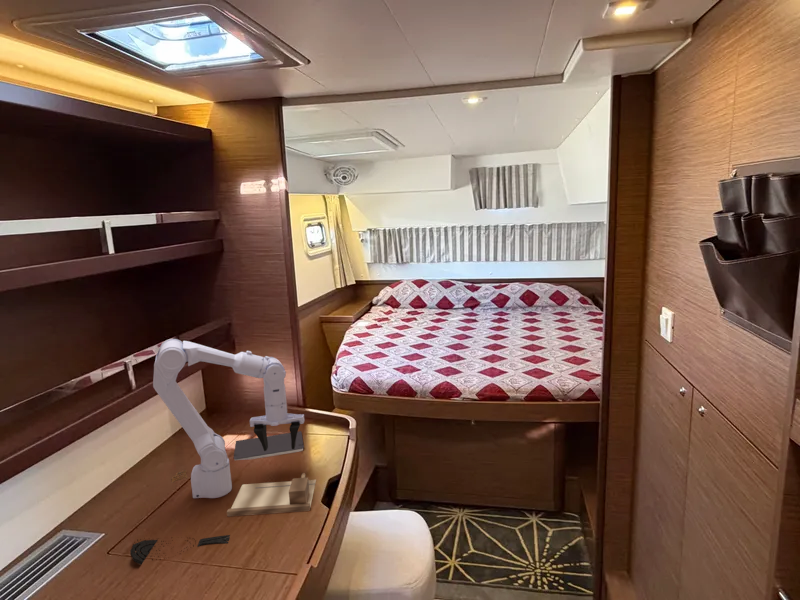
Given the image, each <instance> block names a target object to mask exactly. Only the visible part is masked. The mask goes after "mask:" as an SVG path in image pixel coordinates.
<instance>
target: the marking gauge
mask: <svg viewBox="0 0 800 600" xmlns="http://www.w3.org/2000/svg"><path fill="white" fill-rule="evenodd" d="M306 475H307V474H306V473H305V472H303V473H302V474H301V476H300V477H298V478H297V477H296V478H295V477H294V478H292V479H291V481H292V482H291V486H290V489H289V500H290V504H305V503H307V502H308V498H309V481H308V480H309V477H306Z"/></svg>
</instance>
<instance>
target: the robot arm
mask: <svg viewBox="0 0 800 600" xmlns="http://www.w3.org/2000/svg"><path fill="white" fill-rule="evenodd" d="M154 360H155V361H154V363H153V377H152V378H153V381H152V387H153V389H154V390H155V391H154V392H156V393H157V394H158V396H159V398H160V399H161V400H162V401H163V403H164V404H165V406H166V407H167V408H168V410H169V412H170V413H171V414H172V415H173V416H174V417H175V419H176V421H177V422H178V423H179V424H180V426H181V427H182V429H184V431H185V433H186V434H187V435H188V437H189V438H190V439H191V441H192V443H193V445H194V448H195V450H196V452H197V454H198V455H199V457H200V464H195V465H194V466H193V468H192V469H191V470H192V471H191V473H190V483H191V484H190V485H191V491H192V498H193V499H199V498H200V499H201V498H206V499H216V498H221V497H224V496H226V495H228V493H230V492H231V491H232V489H233V483H232V474H231V465H230V459H229V457H228V454H227V450H226V441H225V439H224V438H223V436H221V435H220V434H217V433H216V432H215V431H214V430H213V428H211V427H210V426H208V424H207V423H206V421H205V420H204V419H203V418H202V416H201V414H200V413H199V412H198V409H196V408H195V406H194V405H193V404H192V402H191V401H190V399H189V397H188V396H187V395H186V394H185V392H184V391H183V389H182V388H181V387H180V385H179V384H178V382H177V378H178V374H179V373H180V371H181V370H182V369H183V368H184V367H185V365H186V363H187V366H188V367H190V366H192V365H195V364H197V363H199V362H203V363H204V362H205V363H209V364H214V365H219V366H220V365H221V366H226V367H230V368H232V370H233V372H234V373H235V374H239V375H245V376H246V377H247V376H248V377H251V378H256V379H263V396H264V399H263V400H264V408H265V415H260V416H253V417H251V418H250V419H249V425H250V426H249V427H250V428H253V433H254V434H255V435H256V438H259V440H260V442H261V444H262V446H263V449H264V451H267V448H268V441H267V436H268V435H267V433H268V432H267V426H271V427H273V426H276V427H277V426H279V425H286V424H290V425H289V433H290V434H291V447H292V449H295V446H296V436H297V432H298V431H299V430H300V426H301V425H302V424H303V425H304V423H305V414H301V413H300V414H298V413H289V412H288V404H287V403H288V402H287V394H286V393H287V392H286V384H285V378H286V374H287V371H286V369H285V367H284V365H283V364H282V362H281V361H280V360H279V359H278V358H276V357H274V356H268V355H265V356H261V355H258V354H257V355H256V354H254V353H253V352H252V351H251V350H246V351H240V352H238V353H236V354H233V353H230V352H227V351H224V350H220V349H216V348H213V347H210V346H206V345H203V344H200V343H196V342H192V341H189V340H188V341H187V340H183V341H181V340H180V339H178V338H169V339H166V340H165V341H163V342H162V343H161V345H160V346H159V349H158V351H157V352H156V355H155V359H154Z"/></svg>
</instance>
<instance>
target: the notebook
mask: <svg viewBox="0 0 800 600" xmlns="http://www.w3.org/2000/svg"><path fill="white" fill-rule="evenodd" d="M302 433H303V432H302V431H301V430H300V431H299V430H298V432H297V436H296V446H295V449H292V447H291V434H290V432H287V433H280V434H273V435H267V441H268V448H267V451H264V449H263V446H262V444H261V442H260V440H259V438H258V437H252V438H245V439H241V440H235V444H234V445H235V447H234V452H233V459H234V461H242V460H243V461H244V460H245V461H246V460H255V459H262V458H269V457H273V456H281V455H286V454H293V453H298V452H303V451H304V448H305V446H304V439H303V435H302Z"/></svg>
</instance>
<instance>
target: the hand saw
mask: <svg viewBox="0 0 800 600" xmlns="http://www.w3.org/2000/svg"><path fill="white" fill-rule="evenodd" d="M183 470H184V469H183ZM183 470H182V471H178V472H176V473H175V475H173V476H172V477H171V483H170V484H173V483H174V482H176V481H180V480H182V479H188V476H187V473H186V472H187V469H186V470H184V471H183ZM182 474H183V475H182ZM177 476H178V477H177ZM184 477H185V478H184Z"/></svg>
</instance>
